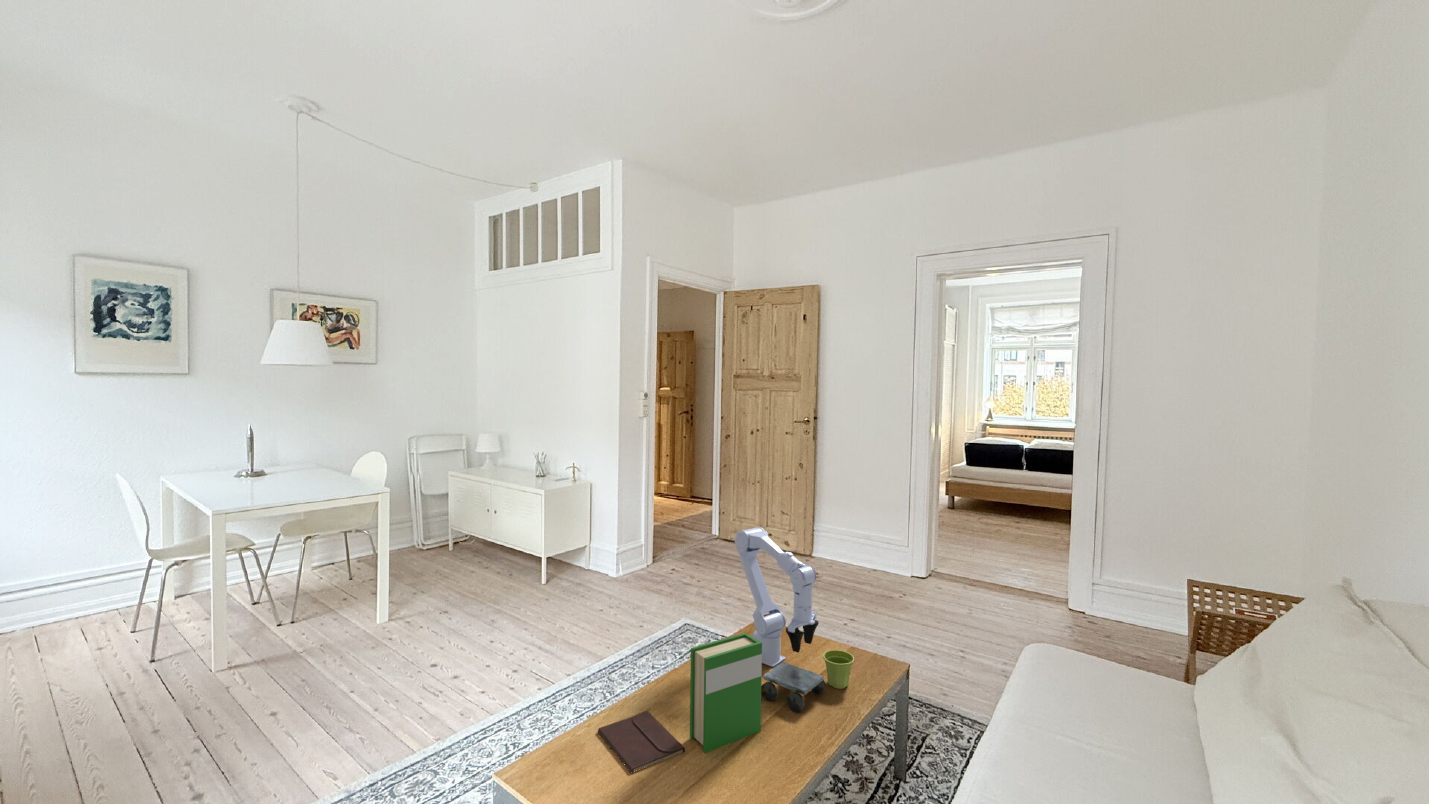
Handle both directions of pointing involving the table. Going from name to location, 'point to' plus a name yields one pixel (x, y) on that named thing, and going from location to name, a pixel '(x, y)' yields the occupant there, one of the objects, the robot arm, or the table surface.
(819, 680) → the trolley
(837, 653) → the plant pot
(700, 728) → the hardback book
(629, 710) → the table surface
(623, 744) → the notebook
